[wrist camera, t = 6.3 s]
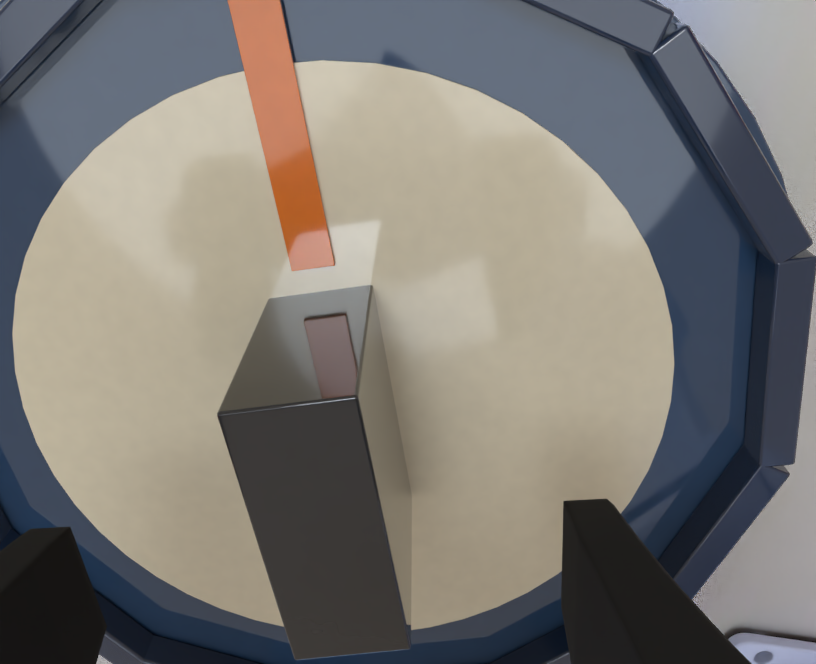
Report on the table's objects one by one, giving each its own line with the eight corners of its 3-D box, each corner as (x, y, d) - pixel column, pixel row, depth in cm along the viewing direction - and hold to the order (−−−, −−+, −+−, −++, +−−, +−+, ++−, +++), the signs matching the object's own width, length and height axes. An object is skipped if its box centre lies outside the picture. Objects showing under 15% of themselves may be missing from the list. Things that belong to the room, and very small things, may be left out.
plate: (757, 638, 19) (859, 838, 14) (87, 701, 20) (-3, 901, 16) (837, -216, 11) (1122, -342, 6) (-286, -15, 12) (-679, -8, 8)
